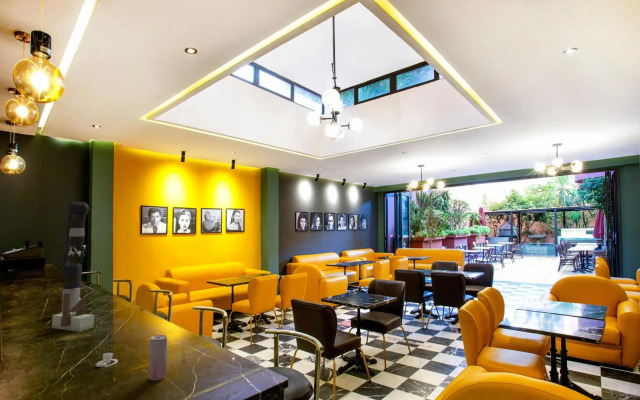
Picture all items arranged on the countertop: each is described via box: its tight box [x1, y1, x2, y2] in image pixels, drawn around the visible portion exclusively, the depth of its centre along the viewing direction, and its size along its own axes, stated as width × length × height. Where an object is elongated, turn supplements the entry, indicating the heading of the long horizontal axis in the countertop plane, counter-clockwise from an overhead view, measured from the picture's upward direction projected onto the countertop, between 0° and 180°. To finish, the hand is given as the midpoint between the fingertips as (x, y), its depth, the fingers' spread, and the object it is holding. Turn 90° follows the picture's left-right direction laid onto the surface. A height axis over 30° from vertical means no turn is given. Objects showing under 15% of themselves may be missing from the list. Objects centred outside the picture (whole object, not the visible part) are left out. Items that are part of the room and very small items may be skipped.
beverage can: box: [148, 334, 168, 382], centre depth 127 cm, size 6×6×15 cm
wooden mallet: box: [61, 293, 87, 326], centre depth 191 cm, size 4×11×18 cm, turn 142°
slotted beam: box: [51, 312, 95, 332], centre depth 191 cm, size 8×22×7 cm, turn 71°
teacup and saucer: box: [95, 352, 119, 368], centre depth 140 cm, size 9×8×4 cm
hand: (75, 262), depth 202 cm, fingers open, 8 cm apart
